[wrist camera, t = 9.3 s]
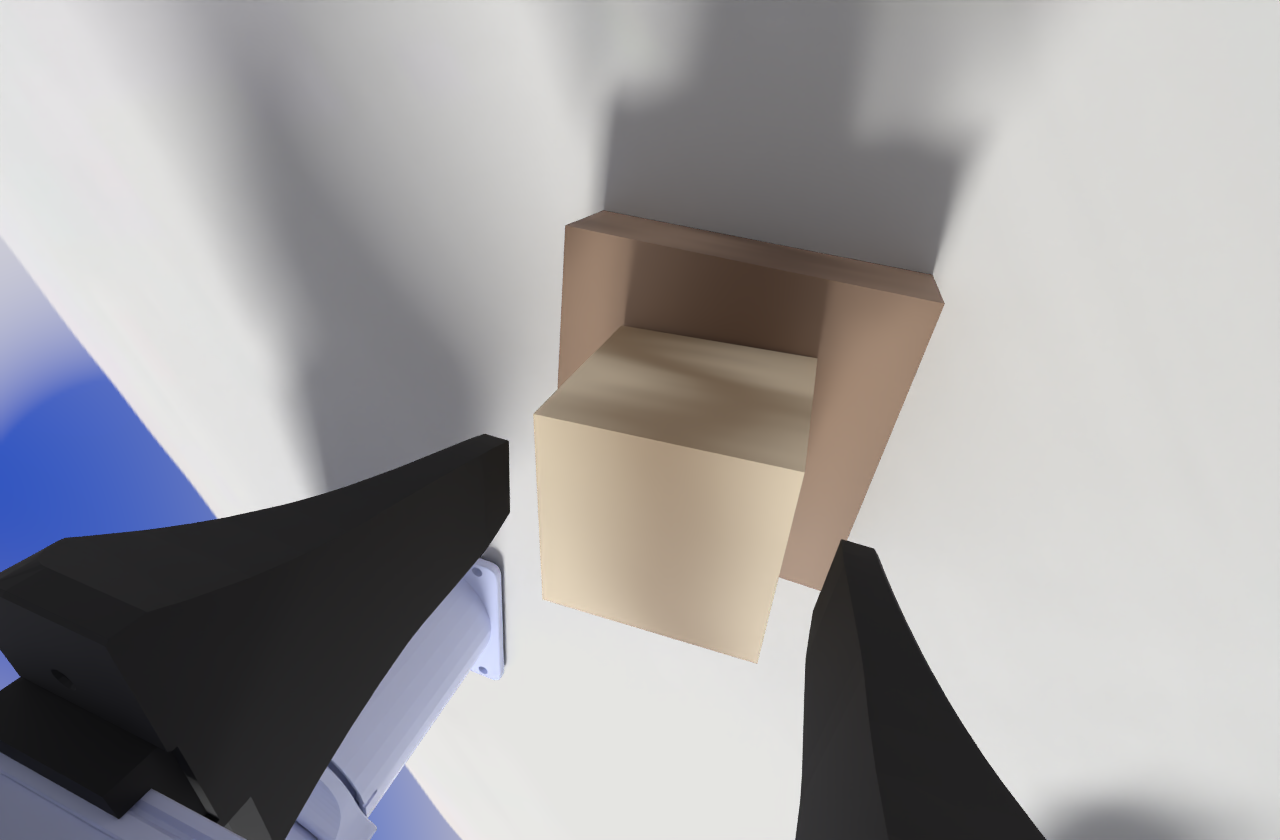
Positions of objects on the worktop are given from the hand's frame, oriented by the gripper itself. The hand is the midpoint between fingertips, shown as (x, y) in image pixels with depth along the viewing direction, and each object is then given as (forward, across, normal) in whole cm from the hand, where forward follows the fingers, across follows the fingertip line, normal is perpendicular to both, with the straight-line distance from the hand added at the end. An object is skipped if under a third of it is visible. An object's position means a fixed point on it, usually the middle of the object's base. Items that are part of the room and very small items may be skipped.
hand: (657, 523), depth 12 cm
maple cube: (+4, 0, 0) cm, 4 cm away
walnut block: (+7, 0, 0) cm, 7 cm away
